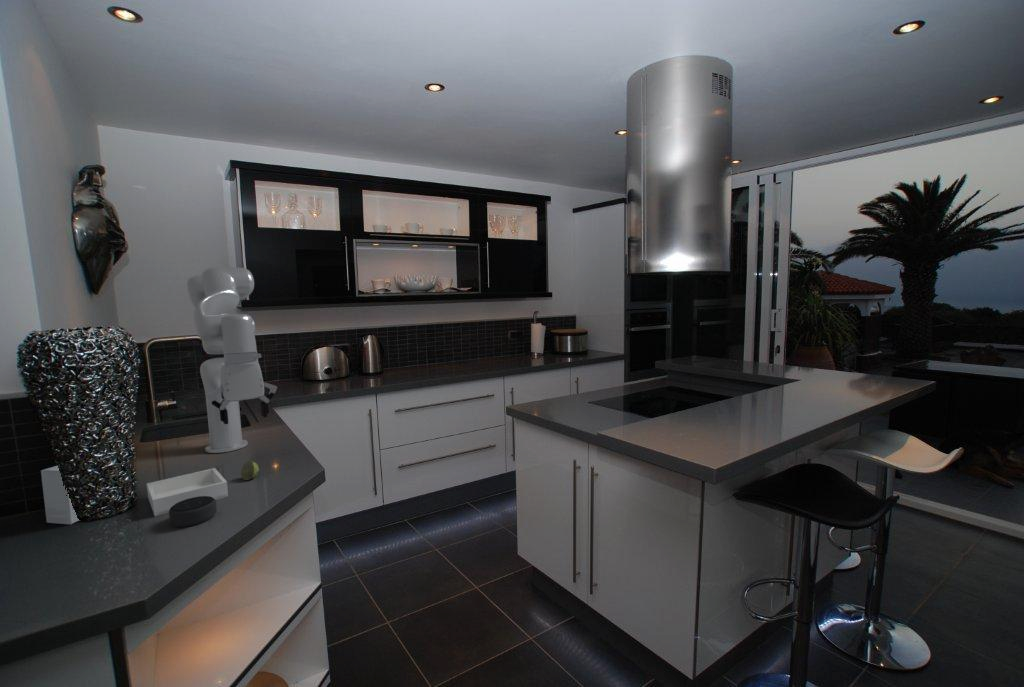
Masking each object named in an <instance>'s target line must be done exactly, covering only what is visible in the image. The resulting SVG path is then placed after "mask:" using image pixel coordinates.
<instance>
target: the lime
mask: <svg viewBox="0 0 1024 687" xmlns="http://www.w3.org/2000/svg"><path fill="white" fill-rule="evenodd" d="M259 471H260V468H259V464H258V463H257V462H255V461H253V460H247V461H246V462H244V463H243V465H242V467H241V470H240V476H241V478H242V479H243V480H245V481H249V480H253V479H254V478H255V477H257V476H258V474H259Z"/></svg>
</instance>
